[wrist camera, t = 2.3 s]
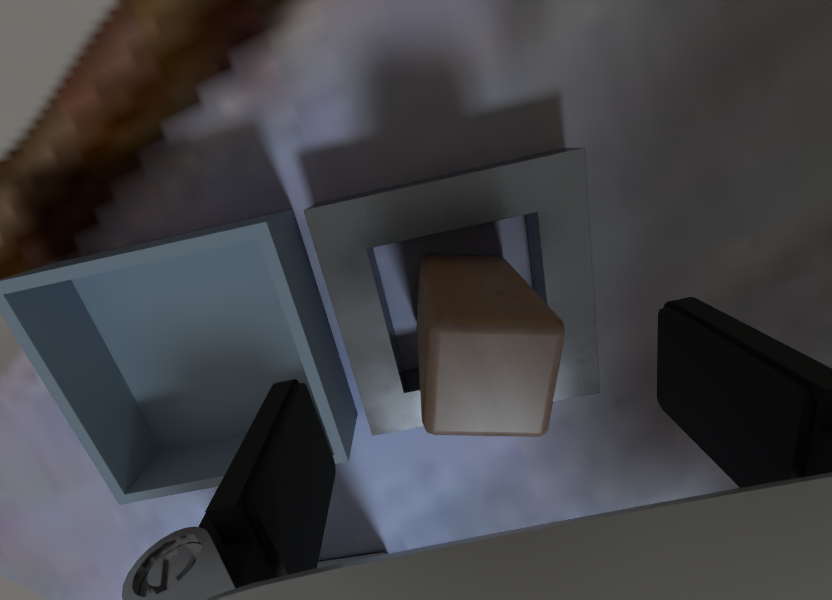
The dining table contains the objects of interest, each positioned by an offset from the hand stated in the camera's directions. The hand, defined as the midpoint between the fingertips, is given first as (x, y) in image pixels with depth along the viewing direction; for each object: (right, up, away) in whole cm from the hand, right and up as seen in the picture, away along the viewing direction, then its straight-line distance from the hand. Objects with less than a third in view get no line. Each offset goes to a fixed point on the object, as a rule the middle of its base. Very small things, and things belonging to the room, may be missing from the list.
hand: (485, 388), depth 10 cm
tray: (-11, 0, +9) cm, 15 cm away
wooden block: (0, +3, +9) cm, 9 cm away
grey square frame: (0, +3, +9) cm, 9 cm away
